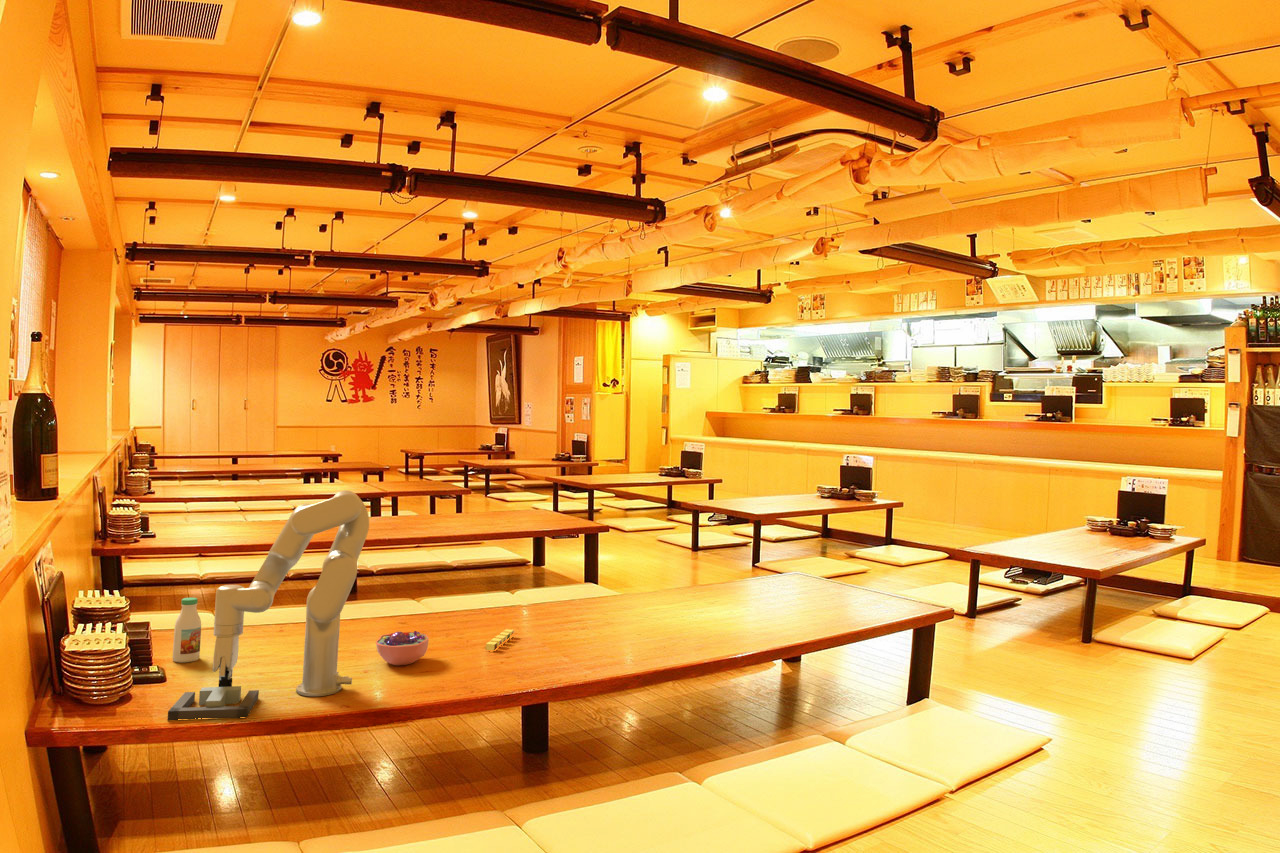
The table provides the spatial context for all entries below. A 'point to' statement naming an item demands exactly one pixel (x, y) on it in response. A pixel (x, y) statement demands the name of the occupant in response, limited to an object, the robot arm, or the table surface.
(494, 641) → the yellow segmented bar
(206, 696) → the t block
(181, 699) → the corral
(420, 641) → the cell model
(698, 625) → the table surface
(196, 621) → the milk bottle
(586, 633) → the table surface
